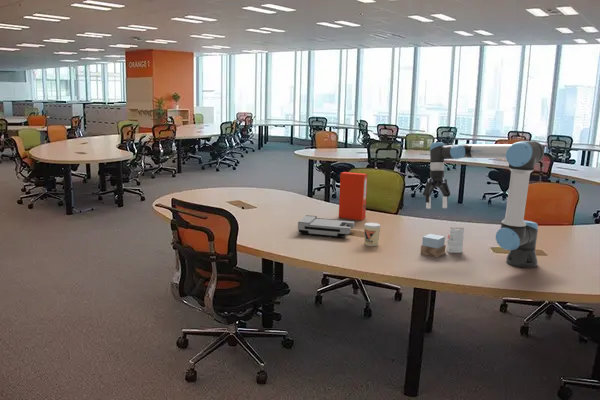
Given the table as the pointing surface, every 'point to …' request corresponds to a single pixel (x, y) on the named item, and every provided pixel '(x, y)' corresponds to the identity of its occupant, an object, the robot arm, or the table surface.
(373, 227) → the coffee cup
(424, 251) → the walnut base block
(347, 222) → the game console
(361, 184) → the file binder
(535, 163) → the robot arm
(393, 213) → the table surface
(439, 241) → the grey-blue top block
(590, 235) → the table surface
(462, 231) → the ink box
